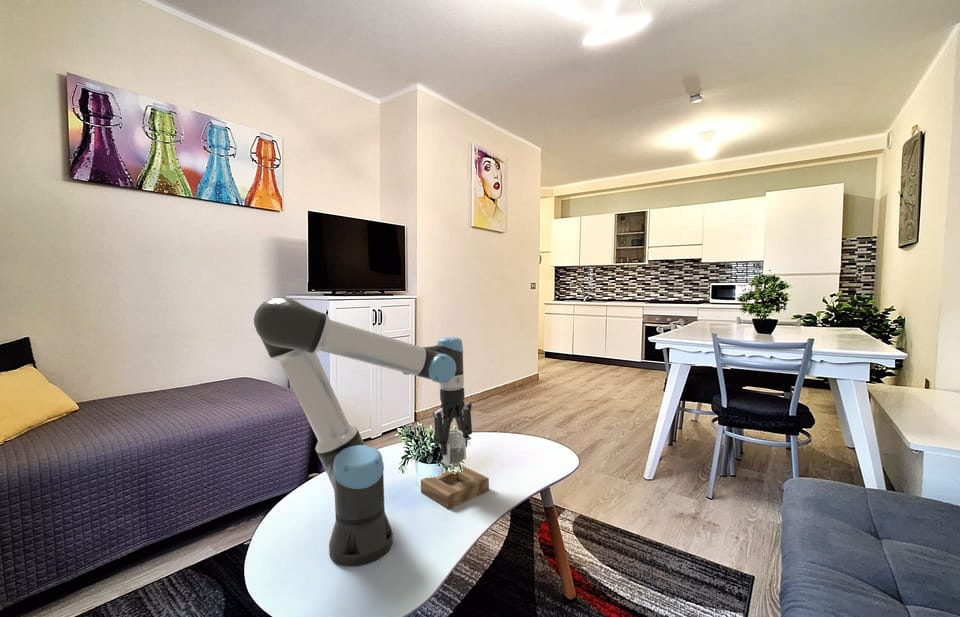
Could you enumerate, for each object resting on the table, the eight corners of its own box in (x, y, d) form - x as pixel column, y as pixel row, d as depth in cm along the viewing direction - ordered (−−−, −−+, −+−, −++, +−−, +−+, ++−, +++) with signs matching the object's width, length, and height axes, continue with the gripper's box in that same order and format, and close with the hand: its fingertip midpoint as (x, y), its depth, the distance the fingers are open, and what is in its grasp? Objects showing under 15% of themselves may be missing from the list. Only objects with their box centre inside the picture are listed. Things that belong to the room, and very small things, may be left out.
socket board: (448, 509, 119) (447, 495, 119) (420, 492, 130) (420, 479, 130) (489, 490, 130) (488, 478, 130) (460, 476, 140) (460, 464, 140)
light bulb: (443, 467, 129) (441, 430, 129) (456, 461, 134) (454, 424, 133) (455, 472, 126) (453, 433, 125) (468, 466, 130) (466, 428, 129)
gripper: (434, 395, 120) (437, 474, 121) (482, 384, 132) (484, 455, 133) (419, 391, 125) (423, 466, 126) (467, 380, 137) (469, 449, 139)
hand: (454, 461), depth 130 cm, fingers closed on light bulb, 6 cm apart
